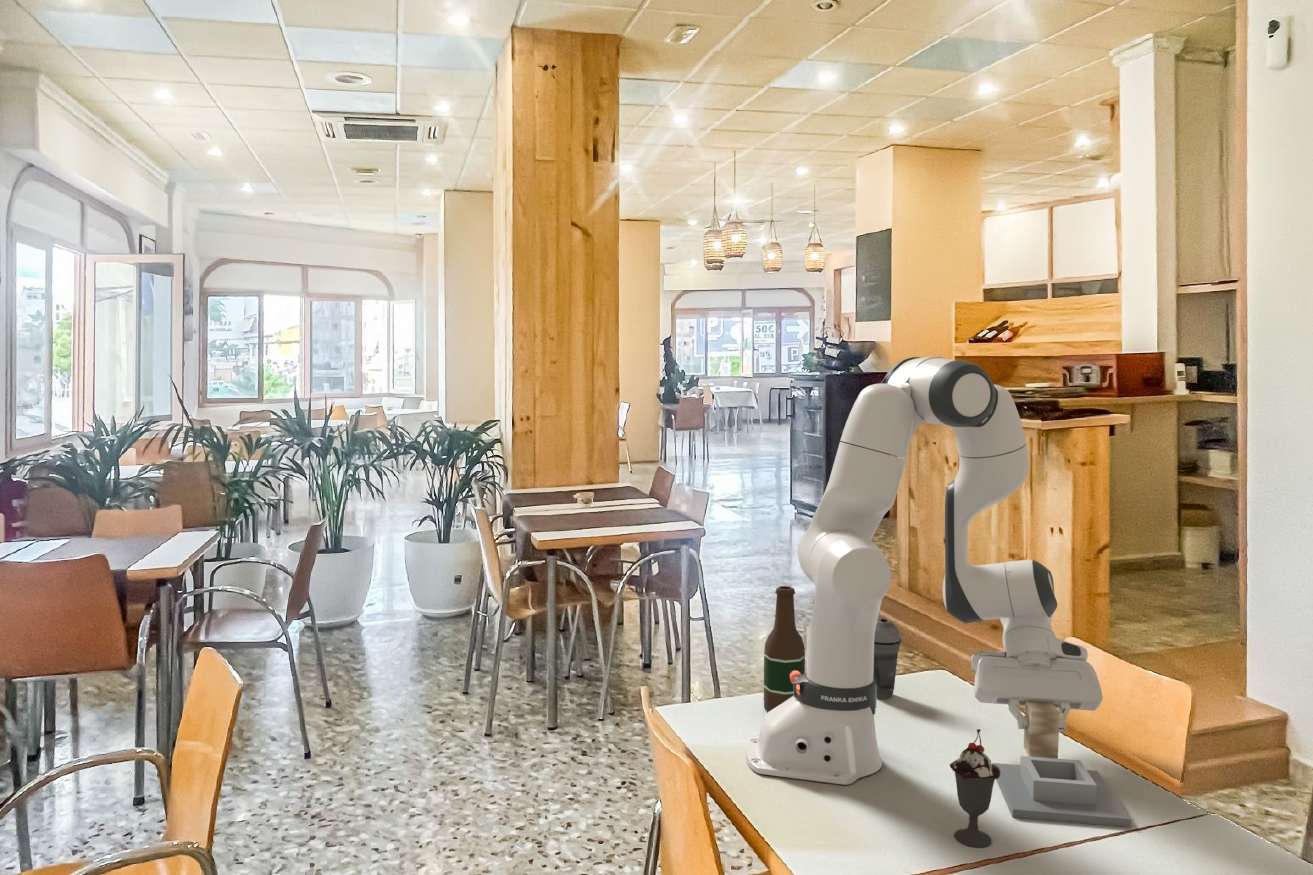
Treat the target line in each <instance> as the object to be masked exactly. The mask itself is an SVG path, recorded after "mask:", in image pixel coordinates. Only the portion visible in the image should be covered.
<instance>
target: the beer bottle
mask: <svg viewBox="0 0 1313 875" xmlns="http://www.w3.org/2000/svg"><path fill="white" fill-rule="evenodd" d="M774 593H775V595H776V603H775V617H774V625H773V629H772V630H771V632H770V633H769V634H768V636H767V638H766V640H765V644H764V651H763V708H764V710H765V709H766V710H767V711H766V710H765V711H766V712H767V713H768V712H769V711H771V710H772V709H774V708H775V707H777V706H779V705H780V704H782V703H783V702H785V701H786V700H788V699H789V698H791V697H792V696H794V691H793V686H794V684H792V683H791V681H790V673H792V671H795V670H796V671H799V672H800V673H801V675H803V674H804V673H806V650H805V648H806V647H805V643H804V640H803V638H802V636H801V635H800V633H799V631H798V630H797V626H796V618H795V615H796V614H795V601H794V600H795V597H794V595H795V594H796V590H795V588H793V587H792V586H789V585H781V586H778V587H776V589H775V592H774Z"/></svg>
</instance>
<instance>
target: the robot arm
mask: <svg viewBox="0 0 1313 875" xmlns="http://www.w3.org/2000/svg"><path fill="white" fill-rule="evenodd" d="M923 423H927V424H929V425H930V424H931V425H937V426H949V427H950V428H952V430H953V433H954V435H955V441H956V447H957V453H958V460H959V461H958V462H959V464H958V471H957V474H956V476H955V479H953V480H952V481H950V482H949V483H948V484H947V487H946V491H945V494H944V495H945V496H944V562H945V563H944V566H945V567H944V568H945V569H944V570H945V571H944V576H943V582H942V599H943V600H942V601H943V604H944V607H945V609H946V611H947V613H948V614H949V615H950V616H952V618H954V619H956V620H957V621H960V623H963V624H967V625H968V624H971V623H978V622H983V621H986V620H998V619H999V621H1000V622H1001V625H1002V627H1003V632H1002V645H1003V651H997V650H996V651H987V650H978V652H976V653H974V654H972V655H971V657H970V667H971V669H972V672H974V673H975V675H974V687H973V688H974V689H973V690H974V697H975V699H976V700H977V701H978V702H979V703H981V704H993V705H1007V706H1008V707H1007V708H1008V711H1009V713H1011V715H1012V716H1013V717H1014V719H1015V720H1016V722H1017V729H1018V730H1024V729H1027V730H1028V728H1029V722H1028V716H1025V715H1024V714H1023V713H1022V711H1021V710H1020V709H1019V706H1022V707H1023V706H1024V707H1025V701H1028V702H1042V703H1053V704H1054V705H1055V707H1056V708H1057V710H1058V711H1059V712H1060V715H1061V716H1060V719H1059V733H1066V731H1067V723H1066V722H1067V721H1066V720H1067V717H1068V715H1069V713H1070V711H1071V710H1075V711H1076V710H1078V711H1079V710H1081V711H1090V712H1091V711H1092V712H1093V711H1094V712H1095V711H1096V710H1098V708H1099V707H1100V705H1101V704H1102V702H1103V693H1102V688H1101V684H1100V681H1099V678H1098V675H1097V672H1096V670H1095V668H1094V667H1093V665H1092V664H1091V663H1089V662H1088V656H1089V655H1088V650H1087V648H1086V647H1084V646H1081V645H1079V644H1075V643H1072V642H1069V641H1067V640H1065V639H1062V638H1061V639H1060V638H1058V637H1056V633H1055V632H1054V630H1053V628H1052V618H1053V615H1054V613H1055V611H1056V610H1057V608H1058V601H1057V599H1056V596H1055V585H1054V584H1055V583H1054V578H1053V575H1052V572H1051V570H1049V568H1047V567H1046V566H1044V564H1042V563H1040V562H1039V561H1037V560H1035V559H1022V560H1021V559H1020V560H1011V561H1005V562H997V563H989V564H977V565H974V564H971V563H970V562H969V544H968V543H969V534H968V533H969V532H968V531H969V525H970V523H971V521H972V520H973V519H974V518H975V516H977V515H979V514H980V513H982V512H983V511H984V510H987V509H989V508H990V507H992V506H994V505H996V504H998V503H1000V502H1002V501H1004V500H1006V499H1007V498H1009V497H1010V496H1012V495H1013V494H1015V493H1016V492H1017V491H1018V490H1019V489H1020V488H1021V487H1022V485H1023V484H1024V483H1025V481H1026V479H1027V477H1028V476H1029V475H1028V474H1029V471H1030V470H1029V469H1030V467H1029V466H1030V464H1029V463H1030V462H1029V453H1028V452H1029V451H1028V445H1027V441H1026V440H1027V439H1026V436H1025V430H1024V427H1023V423H1022V420H1021V417H1020V414H1019V411H1018V409H1017V406H1016V404H1015V401H1014V398H1013V396H1012V394H1011V393H1010V391H1009V390H1007V389H1006V388H1005V387H1003V386H1001V385H998V384H995V383H994V382H993V380H992V378H991V377H990V375H989V374H988V372H987V371H986V370H984V369H983V368H982V367H981V366H980V365H977V364H975V363H973V362H970V361H967V360H964V359H963V360H962V359H960V360H959V359H958V360H957V359H956V360H955V359H949V358H946V357H944V356H943V357H942V356H925V357H924V356H923V357H920V356H913V357H908V358H905V359H902V360H901V361H898V362H897V363H895V364H894V365H893V366H891V368H890V369H889V370H888V371H887V373H886V375H885V376H884V378H883V380H881V382H880V383H874V384H870V385H868V386H866V387H864V388H863V389H862V390H861V391H860V392H859V394H858V396H857V398H856V399H855V401H854V403H853V406H852V408H851V410H850V412H849V415H848V417H847V420H846V422H845V425H844V428H843V430H842V434H841V437H840V441H839V444H838V448H837V451H836V455H835V458H834V462H833V464H832V469H831V472H830V476H829V480H828V482H827V485H826V487H825V490H824V493H823V496H822V497H821V500H820V502H819V504H818V506H817V508H816V509H815V512H814V513H813V517H812V519H811V521H810V523H809V526H808V528H807V529H806V530H805V532H804V533H803V534H802V536H801V537H800V539H799V541H798V545H797V556H798V561H799V565H800V568H801V570H802V572H803V574H805V576H806V577H807V578H808V579H809V580H810V581H811V582H812V583H814V586H815V597H814V598H815V600H814V604H813V609H812V615H811V620H810V623H809V624H808V625H807V628H806V645H805V646H806V647H805V648H806V650H805V673H804V674H803V675H801V673H800V672H799V671H796V670H795V671H792V673H790V681H791V683H792V684H794V686H793V691H794V696H792V697H791V698H789V699H788V700H786V701H785V702H783V703H782V704H780V705H779V706H777V707H775V708H774V709H772V710H771V711H769V712H768V711H767V713H766V714H765V716H764V718H763V720H762V723H761V726H760V731H759V734H757V735H755V736H754V737H752V738H751V739H750V740H749V741H748V742H747V745H746V751H745V760H746V763H747V765H748V767H749V768H750V769H751V770H752V771H754V772H755V773H757V774H758V775H759V774H760V775H766V776H767V775H768V776H774V777H782V778H788V779H789V778H791V779H797V780H807V781H813V782H820V783H829V784H836V785H837V784H838V785H851V784H852V783H854V782H856V781H857V780H858V779H860V778H864V777H867V776H870V775H873V774H874V773H876V772H878V770H880V769H882V766H883V761H882V758H881V753H880V749H879V745H878V740H877V732H876V724H875V722H876V721H875V714H876V708H877V700H878V699H877V687H876V681H875V679H874V677H873V671H874V637H875V629H876V624H877V619H878V615H879V611H880V612H881V610H880V609H881V605H882V602H883V599H884V597H885V596H886V595H887V593H888V592H889V590H890V587H891V582H892V571H891V570H892V569H891V566H890V564H889V562H888V560H887V558H886V557H885V555H884V553H883V552H882V550H881V548H879V547H878V546H877V545H876V544H875V543H874V542H872V539H873V537H874V536H875V533H876V531H877V529H878V527H879V525H880V524H881V521H882V520H883V518H884V516H885V515H886V514H887V513H888V511H890V510H891V509H892V507H894V504H895V502H896V497H897V494H898V491H899V487H900V483H901V480H902V476H903V474H904V473H903V472H904V469H905V465H906V462H907V458H908V454H909V450H910V446H911V442H912V438H913V436H914V434H915V433H916V431H917V430H918V428H919V427H920V426H921V425H922V424H923Z"/></svg>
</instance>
